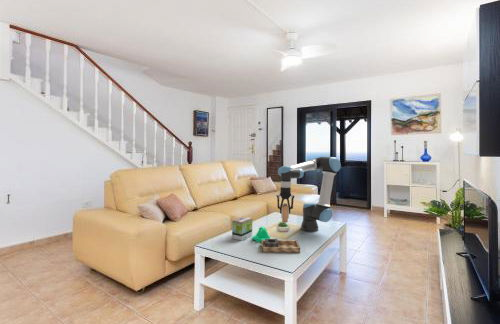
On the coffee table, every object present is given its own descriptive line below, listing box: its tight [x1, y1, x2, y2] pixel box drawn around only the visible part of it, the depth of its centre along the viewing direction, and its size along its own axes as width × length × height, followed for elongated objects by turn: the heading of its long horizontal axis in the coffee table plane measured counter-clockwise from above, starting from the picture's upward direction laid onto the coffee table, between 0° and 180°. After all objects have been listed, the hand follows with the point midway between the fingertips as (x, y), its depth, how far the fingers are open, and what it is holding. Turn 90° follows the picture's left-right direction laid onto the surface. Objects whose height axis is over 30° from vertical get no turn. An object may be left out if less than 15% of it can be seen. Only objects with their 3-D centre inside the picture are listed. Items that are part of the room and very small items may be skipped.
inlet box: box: [261, 238, 301, 254], centre depth 184 cm, size 26×14×6 cm, turn 89°
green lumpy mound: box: [251, 226, 271, 243], centre depth 200 cm, size 12×8×10 cm, turn 55°
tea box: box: [231, 216, 253, 242], centre depth 207 cm, size 15×10×15 cm, turn 148°
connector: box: [281, 202, 289, 223], centre depth 194 cm, size 4×4×14 cm
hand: (284, 217), depth 195 cm, fingers closed on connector, 4 cm apart
